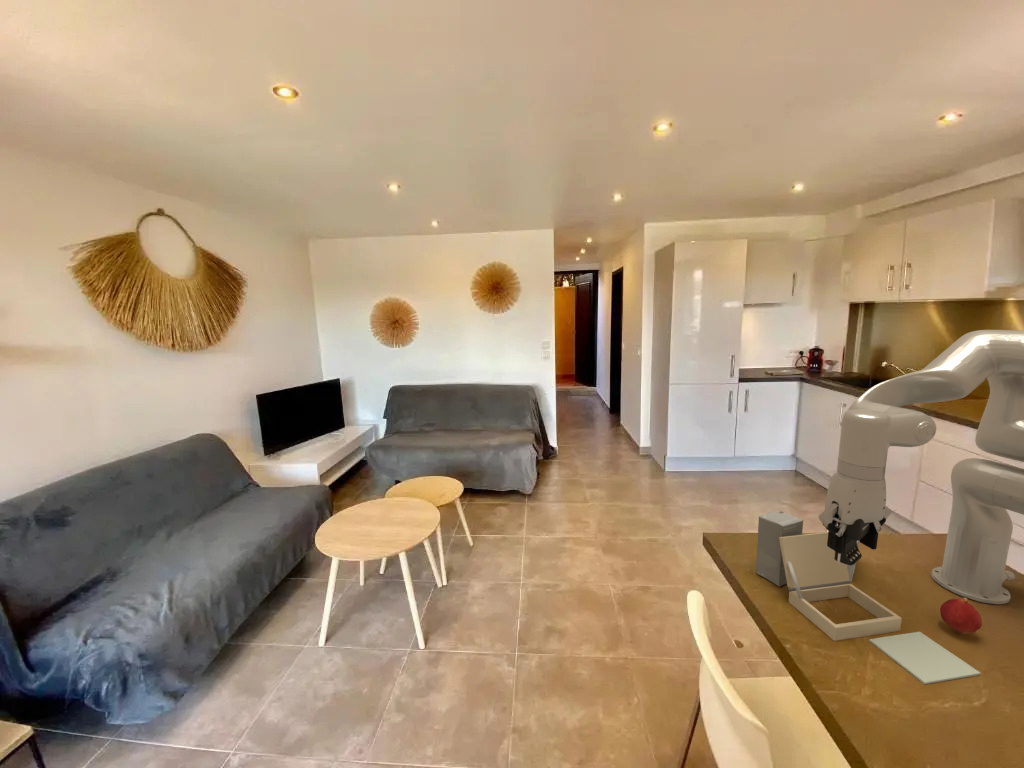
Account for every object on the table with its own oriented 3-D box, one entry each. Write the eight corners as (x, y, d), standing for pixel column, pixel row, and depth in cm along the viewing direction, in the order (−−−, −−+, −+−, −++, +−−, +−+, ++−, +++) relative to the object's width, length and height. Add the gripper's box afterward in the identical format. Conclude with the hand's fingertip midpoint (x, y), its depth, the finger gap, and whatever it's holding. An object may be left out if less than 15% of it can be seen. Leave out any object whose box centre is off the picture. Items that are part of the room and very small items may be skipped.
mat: (919, 633, 84) (919, 631, 84) (980, 674, 75) (980, 672, 74) (869, 640, 83) (869, 639, 83) (924, 684, 73) (924, 682, 73)
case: (830, 582, 101) (836, 529, 98) (899, 630, 85) (909, 570, 83) (774, 589, 99) (778, 536, 96) (834, 640, 83) (841, 578, 81)
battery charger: (855, 570, 84) (861, 519, 82) (833, 561, 87) (838, 511, 85) (867, 558, 88) (873, 509, 86) (846, 550, 91) (851, 502, 89)
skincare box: (779, 588, 99) (785, 528, 96) (752, 571, 105) (756, 514, 103) (801, 578, 102) (807, 520, 100) (773, 563, 109) (778, 507, 106)
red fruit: (931, 626, 86) (937, 592, 85) (945, 618, 88) (951, 585, 87) (970, 646, 81) (977, 611, 79) (984, 637, 83) (991, 602, 82)
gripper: (878, 459, 89) (869, 534, 92) (807, 466, 86) (800, 542, 89) (916, 472, 81) (905, 553, 84) (840, 480, 79) (831, 563, 82)
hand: (851, 547), depth 87 cm, fingers closed on battery charger, 7 cm apart
